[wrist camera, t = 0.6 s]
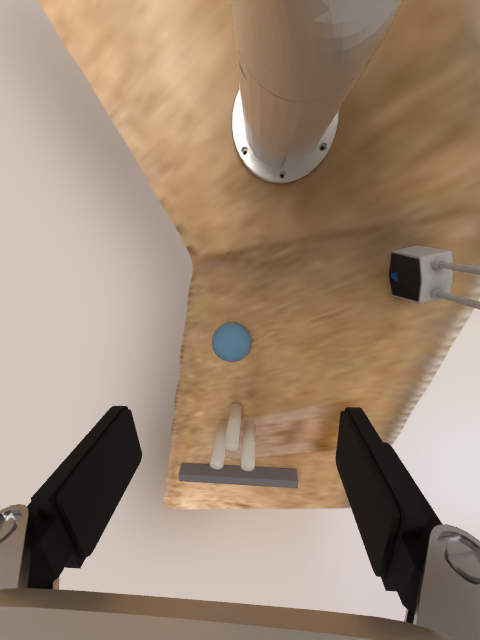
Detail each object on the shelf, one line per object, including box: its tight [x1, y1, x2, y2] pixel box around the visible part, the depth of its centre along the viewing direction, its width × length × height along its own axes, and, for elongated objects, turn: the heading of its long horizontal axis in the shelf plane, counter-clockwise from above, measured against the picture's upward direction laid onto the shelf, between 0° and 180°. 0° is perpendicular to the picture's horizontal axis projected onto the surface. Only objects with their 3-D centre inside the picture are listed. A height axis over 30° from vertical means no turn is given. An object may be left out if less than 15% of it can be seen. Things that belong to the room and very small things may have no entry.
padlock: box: [389, 245, 480, 309], centre depth 26 cm, size 7×4×15 cm, turn 13°
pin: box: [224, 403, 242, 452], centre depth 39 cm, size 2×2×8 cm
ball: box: [212, 323, 251, 362], centre depth 35 cm, size 6×6×6 cm
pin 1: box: [210, 420, 228, 469], centre depth 40 cm, size 2×2×8 cm
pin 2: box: [241, 421, 255, 471], centre depth 40 cm, size 2×2×8 cm
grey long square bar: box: [179, 463, 298, 488], centre depth 47 cm, size 2×24×2 cm, turn 91°
